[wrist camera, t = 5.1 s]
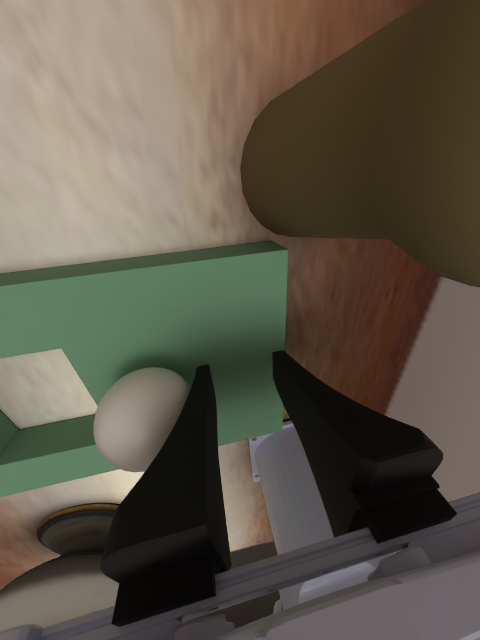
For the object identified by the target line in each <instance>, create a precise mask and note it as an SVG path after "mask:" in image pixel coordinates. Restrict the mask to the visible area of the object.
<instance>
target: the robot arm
mask: <svg viewBox="0 0 480 640" xmlns="http://www.w3.org/2000/svg"><path fill="white" fill-rule="evenodd" d="M272 364H273V380H274V383H275V386H276V389H277V392H278V394H279V396H280V398H281V401H282V403H283V405H284V407H285V409H286V411H287V413H288V415H289V417H290V419H291V421H286V422H283V427H282V431H279V432H275V433H271V434H267V435H262V436H258V437H254V438H250V439H248V440H249V449H250V459H251V468H252V478H253V482H261V486H262V490H263V494H264V498H265V502H266V507H267V511H268V515H269V519H270V524H271V528H272V532H273V536H274V541H275V544H276V549H277V553H278V555H277V556H274V557H270V558H267V559H264V560H260V561H257V562H254V563H251V564H248V565H244V566H241V567H238V568H235V569H231V570H230V567H231V557H230V549H229V541H228V533H227V526H226V517H225V509H224V501H223V492H222V484H221V475H220V466H219V457H218V431H217V405H216V397H215V390H214V385H213V380H212V376H211V371H210V367H209V364H208V365H203V366H198V367H197V368H196V373H195V377H194V380H193V383H192V386H191V389H190V392H189V394H188V397H187V399H186V402H185V404H184V406H183V409H182V411H181V413H180V415H179V417H178V419H177V421H176V423H175V425H174V427H173V429H172V431H171V432H170V434H169V436H168V437H167V439H166V441H165V442H164V444H163V446H162V447H161V449H160V451H159V452H158V454H157V455H156V457H155V458H154V460H153V461H152V462H151V464H150V465H149V467H148V468H147V470H146V471H145V472H144V474H143V475H142V477H141V478H140V479H139V481H138V482H137V483H136V485H135V486H134V487H133V488H132V490H131V491H130V492H129V493H128V495H127V496H126V497H125V499H124V500H123V501H122V502H121V504H120V505H119V506H118V507H117V510H116V512H115V515H114V518H113V520H112V523H111V526H110V529H109V532H108V535H107V539H106V543H105V547H104V551H103V555H102V559H101V563H100V570H101V572H102V573H103V574H104V575H106V576H107V577H109V578H110V579H112V580H114V581H115V582H117V583H119V587H118V592H117V597H116V602H115V606H112V607H109V608H106V609H103V610H99V611H96V612H93V613H90V614H87V615H83V616H80V617H77V618H74V619H70V620H67V621H64V622H61V623H58V624H54V625H51V626H48V627H45V628H42V627H41V626H39V625H35V624H28V625H21V626H17V627H14V628H10V629H7V630H4V631H0V640H474V639H477V638H479V637H480V492H479V493H477V494H473V495H470V496H466V497H463V498H460V499H457V500H454V501H450V502H447V500H446V499H445V498H444V497H443V496H442V494H441V493H440V492H439V491H438V490H437V489H438V488H439V484H438V483H437V482H436V481H435V479H434V478H433V477H432V476H431V475H432V474H433V473H434V471H435V470H436V469H437V468H438V466H439V465H440V463H441V462H442V460H443V453H442V451H441V450H440V449H439V448H438V447H437V446H436V445H435V444H434V443H433V442H432V441H431V440H430V439H429V438H428V437H427V436H426V435H425V434H424V433H423V432H422V431H421V430H420V429H418V428H415V427H413V426H410V425H407V424H405V423H402V422H400V421H397V420H394V419H392V418H389V417H387V416H385V415H382V414H380V413H378V412H376V411H373V410H371V409H369V408H367V407H365V406H363V405H361V404H359V403H357V402H355V401H353V400H351V399H349V398H348V397H346V396H344V395H342V394H341V393H339V392H337V391H336V390H334V389H332V388H331V387H329V386H328V385H326V384H325V383H323V382H322V381H321V380H319V379H318V378H316V377H315V376H314V375H312V374H311V373H310V372H308V371H307V370H306V369H305V368H303V367H302V366H301V365H300V364H298V363H297V362H296V361H295V360H294V359H293V358H291V357H290V356H289V355H288V354H287V353H286V352H284V351H283V350H280V351H275V352H272ZM402 549H403V550H402ZM399 550H401V551H399ZM396 551H399V552H397V553H395V554H393V555H390V553H393V552H396ZM277 590H279V593H280V597H281V599H280V600H278V601H277V602H276V604H275V607H274V614H272V615H270V616H267V617H265V618H262V619H259V620H257V621H254V622H252V623H249V624H247V625H245V626H242V627H240V628H237V629H234V624H233V623H232V622H226V617H225V616H224V615H223V614H221V615H216V616H211V617H206V618H201V619H196V620H192V621H188V622H185V623H182V622H184V621H187V620H190V619H193V618H196V617H199V616H202V615H205V614H208V613H211V612H214V611H217V610H220V609H223V608H226V607H229V606H232V605H235V604H238V603H241V602H245V601H247V600H250V599H253V598H257V597H259V596H263V595H265V594H269V593H272V592H275V591H277Z"/></svg>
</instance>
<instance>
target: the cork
mask: <svg viewBox="0 0 480 640" xmlns="http://www.w3.org/2000/svg"><path fill="white" fill-rule="evenodd" d="M241 179H242V189H243V194H244V196H245V199H246V201H247V204H248V207H249V209H250V211H251V213H252V214H253V215H254V216H255V218H256V219H257V220H258V221H259V223H260V224H261V225H262V226H264V227H265V228H267V229H269V230H270V231H272V232H273V233H275V234H279V235H285V236H290V237H321V238H356V239H392V241H393V243H394V244H396V245H397V246H398V247H399V248H401V249H402V250H403V251H404V252H405V253H407V254H408V255H409V256H410V257H412V258H413V259H414V260H416V261H417V262H419V263H420V264H422V265H423V266H425V267H426V268H428V269H429V270H430V271H432V272H433V273H435V274H436V275H439V276H442V277H445V278H448V279H451V280H455V281H457V282H460V283H464V284H467V285H470V286H475V287H480V0H424V1H423V2H421V3H420V4H418V5H417V6H415V7H414V8H412V9H411V10H409V11H407V12H406V13H404V14H403V15H401V16H400V17H398V18H397V19H395V20H394V21H392V22H391V23H389V24H388V25H386V26H385V27H383V28H382V29H380V30H379V31H377V32H376V33H374V34H372V35H371V36H369V37H368V38H366V39H365V40H363V41H362V42H360V43H359V44H357V45H356V46H354V47H353V48H351V49H350V50H348V51H347V52H345V53H344V54H342V55H340V56H339V57H337V58H336V59H334V60H333V61H331V62H330V63H328V64H327V65H325V66H324V67H322V68H321V69H319V70H318V71H316V72H315V73H313V74H312V75H310V76H308V77H307V78H305V79H304V80H302V81H301V82H299V83H298V84H296V85H295V86H293V87H292V88H290V89H289V90H287V91H286V92H284V93H283V94H281V95H280V96H278V97H276V98H275V99H273V100H272V101H270V103H269V104H268V105H267V106H266V107H265V109H264V110H263V111H262V112H261V113H260V115H259V116H258V117H257V118H256V119H255V121H254V123H253V125H252V127H251V130H250V132H249V134H248V137H247V139H246V141H245V144H244V149H243V156H242V162H241Z"/></svg>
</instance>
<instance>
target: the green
mask: <svg viewBox="0 0 480 640" xmlns="http://www.w3.org/2000/svg"><path fill="white" fill-rule="evenodd" d="M287 269H288V249H286V248H284V247H282V246H280V245H278V244H276V243H275V242H273V241H266V242H258V243H250V244H241V245H233V246H225V247H217V248H209V249H200V250H192V251H184V252H176V253H167V254H159V255H151V256H143V257H134V258H126V259H118V260H110V261H101V262H93V263H85V264H77V265H69V266H60V267H52V268H44V269H36V270H27V271H19V272H11V273H3V274H0V358H5V357H11V356H17V355H23V354H29V353H35V352H42V351H48V350H54V349H60V348H62V350H63V352H64V353H65V355H66V356H67V358H68V359H69V361H70V363H71V364H72V366H73V367H74V369H75V371H76V372H77V374H78V375H79V377H80V379H81V380H82V382H83V383H84V385H85V386H86V388H87V390H88V391H89V393H90V394H91V396H92V398H93V399H94V401H95V402H96V404H97V406H98V405H99V403H100V401H101V399H102V398H103V396H104V395H105V393H106V392H107V391H108V389H109V388H110V387H111V386H112V385H113V384H114V383H115V382H116V381H118V380H119V379H120V378H122V377H123V376H125V375H127V374H129V373H131V372H133V371H135V370H139V369H143V368H149V367H159V368H165V369H169V370H171V371H174V372H176V373H177V374H179V375H180V376H182V377H183V378H184V379H185V380H186V381H187V382H188V383H189V385H190V386H192V383H193V380H194V377H195V373H196V368H197V367H198V366H203V365H208V364H209V367H210V371H211V376H212V380H213V385H214V390H215V397H216V405H217V431H218V446H220V445H224V444H228V443H233V442H237V441H241V440H245V439H250V438H254V437H258V436H262V435H267V434H271V433H275V432H279V431H282V427H283V403H282V401H281V398H280V396H279V394H278V392H277V389H276V386H275V383H274V380H273V364H272V352H275V351H280V350H283V351H284V352H285V332H286V300H287ZM94 418H95V415H90V416H85V417H80V418H75V419H70V420H65V421H60V422H55V423H51V424H46V425H41V426H36V427H31V428H26V429H21V430H19V429H18V428H17V427H16V426H15V425H14V424H13V423H12V422H11V421H10V420H9V419H8V418H7V417H6V416H5V415H4V414H3V413H2V412H1V411H0V497H2V496H7V495H11V494H15V493H19V492H24V491H28V490H32V489H36V488H41V487H45V486H49V485H54V484H58V483H62V482H66V481H71V480H75V479H79V478H83V477H88V476H92V475H96V474H100V473H105V472H109V471H113V470H117V469H119V468H117V467H115V466H113V465H111V464H110V463H109V462H108V461H107V460H105V458H104V457H103V456H102V455H101V453H100V452H99V450H98V448H97V445H96V443H95V438H94V428H93V425H94Z"/></svg>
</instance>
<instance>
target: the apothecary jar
mask: <svg viewBox="0 0 480 640" xmlns="http://www.w3.org/2000/svg"><path fill="white" fill-rule="evenodd" d="M118 506H119V505H116V504H105V503H97V504H87V505H80V506H75V507H70V508H67V509H63V510H61V511H58V512H56V513H54V514H52V515H50V516H49V517H47V518H46V519H45V520H44V521H43V522H42V523H41V524H40V526H39V527H38V530H37V537H38V539H39V541H40V542H41V543H42V544H43V545H44V546H46V547H47V548H49V549H51V550H52V551H53V552H55V553H58V554H60V555H61V556H60V557H58V558H55V559H52V560H50V561H48V562H45V563H43V564H41V565H39V566H37V567H35V568H33V569H31V570H29V571H27V572H25V573H24V574H22V575H20V576H19V577H17V578H16V579H14V580H13V581H12V582H10V583H9V584H8V585H6V586H5V587H4V588H3V589H2V590H1V591H0V631H4V630H7V629H10V628H14V627H17V626H21V625H28V624H35V625H39V626H41V627H42V628H45V627H48V626H51V625H54V624H58V623H61V622H64V621H67V620H70V619H74V618H77V617H80V616H83V615H87V614H90V613H93V612H96V611H99V610H103V609H106V608H109V607H112V606H115V602H116V597H117V592H118V587H119V583H117V582H115V581H114V580H112V579H110V578H109V577H107V576H106V575H104V574H103V573H102V572H101V570H100V563H101V559H102V555H103V551H104V547H105V543H106V539H107V535H108V532H109V529H110V526H111V523H112V520H113V518H114V515H115V512H116V510H117V507H118Z"/></svg>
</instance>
